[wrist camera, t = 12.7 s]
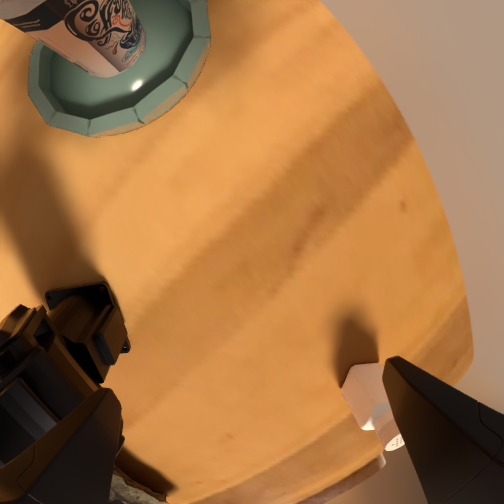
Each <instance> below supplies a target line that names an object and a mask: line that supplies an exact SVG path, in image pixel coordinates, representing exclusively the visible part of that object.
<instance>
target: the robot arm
mask: <svg viewBox="0 0 504 504" xmlns="http://www.w3.org/2000/svg"><path fill="white" fill-rule="evenodd" d="M101 287H104V289H105V291H104V290H102V289H101ZM49 295H51V297H52V298H51V297H50V296H49ZM45 298H46V301H47V304H48V306H49V309H50V312H49V313H48V314H47V313H46V312H47V311H46V309H45V308H44V306H43V304H42V305H40V306H38V307H37V308H35V307H34V308H32V309H30V308H27V307H25V306H23V305H22V304H20V305H18V306H17V307H15V308H14V309H13V310H12V311H11V312H10V313H9V314H8V315H7V316H6V317H5V318H4V319H3V320H2V322H1V323H0V504H109V497H110V490H111V483H112V477H113V471H114V470H115V466H114V465H115V460H116V457H117V455H118V454H119V452H120V450H121V448H122V446H123V444H124V440H125V437H124V436H123V435H122V430H123V419H122V415H121V410H122V408H121V404H120V402H119V400H118V398H117V397H116V395H115V394H114V392H113V390H112V389H110V388H102V387H101V386H100V384H102V383H104V381H105V378H106V376H107V373H108V371H109V368H110V366H111V365H115V363H116V361H117V359H118V356H119V354H120V353H128V352H129V351H130V348H131V345H130V343H129V340H128V338H127V334H128V333H127V330H126V328H125V325H124V322H123V319H122V317H121V314H120V311H119V308H118V307H117V306H115V303H114V300H113V297H112V294H111V291H110V288H109V285H108V284H107V283H106V282H96V283H90V284H84V285H77V286H71V287H65V288H58V289H52V290H48V291H47V292H46V293H45ZM123 346H125V347H126V348H124V347H123ZM382 382H383V385H384V388H385V391H386V394H387V398H388V401H389V404H390V407H391V411H392V414H393V417H394V420H395V422H396V425H397V427H398V429H399V432H400V434H401V436H402V439H403V441H404V443H405V446H406V448H407V450H408V453H409V455H410V458H411V460H412V463H413V465H414V468H415V470H416V473H417V475H418V478H419V481H420V483H421V486H422V488H423V491H424V494H425V497H426V499H427V502H428V504H504V414H502V413H499V412H497V411H495V410H494V409H492V408H490V407H488V406H486V405H484V404H482V403H480V402H478V401H477V400H475V399H473V398H471V397H470V396H468V395H466V394H464V393H463V392H461V391H459V390H457V389H456V388H454V387H452V386H450V385H449V384H447V383H445V382H443V381H441V380H440V379H438V378H436V377H435V376H433V375H431V374H429V373H428V372H426V371H424V370H422V369H421V368H419V367H417V366H415V365H414V364H412V363H410V362H409V361H407V360H405V359H403V358H402V357H400V356H394V357H391V358H388V359H387V360H386V362H385V366H384V370H383V374H382Z"/></svg>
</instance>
